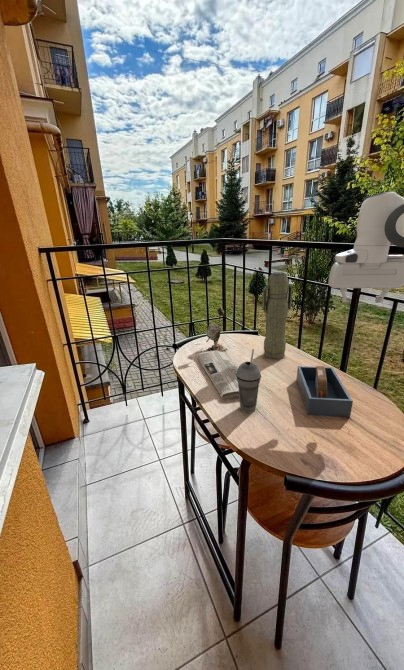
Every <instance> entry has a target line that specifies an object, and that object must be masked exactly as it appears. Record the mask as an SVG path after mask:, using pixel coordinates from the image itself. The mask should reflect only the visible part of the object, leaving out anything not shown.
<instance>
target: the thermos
mask: <svg viewBox="0 0 404 670" xmlns="http://www.w3.org/2000/svg"><path fill="white" fill-rule="evenodd" d="M293 290H294V289H293V286H292V284H290V283H289V279H288V274H287V273H285V272H281V271H278V272H276V271H275V272H272V273H270V275H269V278H268V280H267V285H265V286H264V287H263V288H262V301H261V310H262V311H263V312H264V313H265V315H264V316H265V338H264V340H263V356H264V357H265V358H266V359H268V360H275V361H276V360H282V359H284V358H285V355H286V354H285V353H286V347H287V340H286V338H285V337H286V327H287V326H286V325H287V318H288V315H289V311H290V310H291V309H292V302H293Z"/></svg>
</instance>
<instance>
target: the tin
mask: <svg viewBox="0 0 404 670" xmlns="http://www.w3.org/2000/svg"><path fill="white" fill-rule="evenodd" d="M315 367H316V379H315V384H316V398H327V379H326V372H325V367H326V366H325V365H316V366H315Z"/></svg>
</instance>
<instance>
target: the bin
mask: <svg viewBox="0 0 404 670" xmlns="http://www.w3.org/2000/svg"><path fill="white" fill-rule="evenodd" d="M325 372H326V379H327V398H316V384H315V379H316V366H308V365H307V366H306V365H305V366H304V365H298V366H297V371H296V382H297V386H298V389H299V392H300V396H301V399H302V401H303V405H304V408H305V411H306V414H307V416H319V417H321V416H322V417H339V418H351V414H352V408H353V403H354V401H353V399H352V397H351V396H350V393H349V392H348V391H347V388H346V387H345V386H344V383H343V382H342V381H341V379H340V377H339V375H338V374H337V372H336V371H335V369H334V368H333V366H325Z"/></svg>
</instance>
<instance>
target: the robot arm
mask: <svg viewBox="0 0 404 670" xmlns="http://www.w3.org/2000/svg"><path fill="white" fill-rule="evenodd" d="M355 229H356V238H355V241H354V242H353V243H354V244H353V248H352V249H349V250H346V251H342V252H339V253H337V254H335V256H334V260H335V262H334V263H333V264H332V266H331V268H330V272H329V276H328V281H327V283H328V285H329V287H331V288H332V289H339V292H340V294H341V296H342V300H341V301H342V303H344V304H345V303H346V304H347V303H350V296H349V295H347V293H346V292H347V291H348V289H380V290H381V292H380V293H379V295H375V300H374V302H375V303H378V304H379V303H381V304H382V303H383V302H384V298H385V297H386V296H387V294H388V293H390V289H401V288H403V286H404V254H395V255H394V254H389V250H390V245H391V244H392V245H393V246H395V247H399V248H404V196H401V195H400V194H398V193H397V192H396V191H384V192H380V193H377V194H374V195H370V196H368V197H367V198H365V200H364V201H363V202H362V204H361V206H360V209H359V212H358V217H357V223H356V228H355Z"/></svg>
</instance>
